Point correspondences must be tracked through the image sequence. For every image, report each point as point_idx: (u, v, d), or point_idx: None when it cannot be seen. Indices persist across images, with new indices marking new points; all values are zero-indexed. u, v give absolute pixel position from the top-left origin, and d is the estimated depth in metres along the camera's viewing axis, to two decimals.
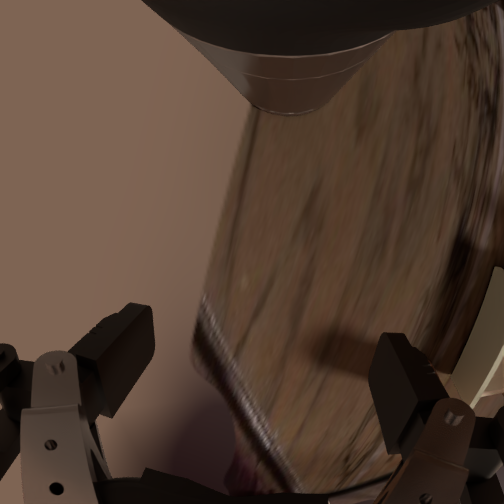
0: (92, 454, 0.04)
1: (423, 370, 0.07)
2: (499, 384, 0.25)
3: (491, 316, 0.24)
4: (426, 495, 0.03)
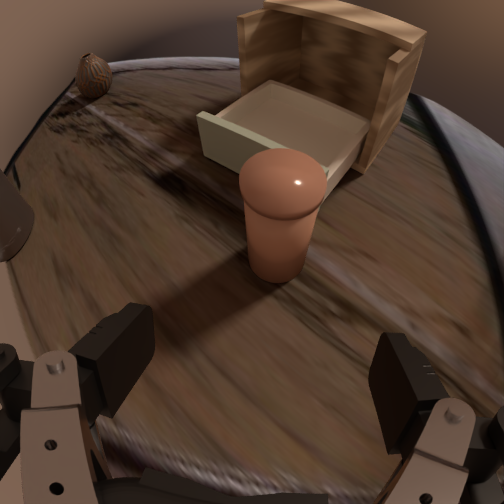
0: (92, 454, 0.04)
1: (423, 370, 0.07)
2: None
3: (232, 156, 0.31)
4: (426, 495, 0.03)
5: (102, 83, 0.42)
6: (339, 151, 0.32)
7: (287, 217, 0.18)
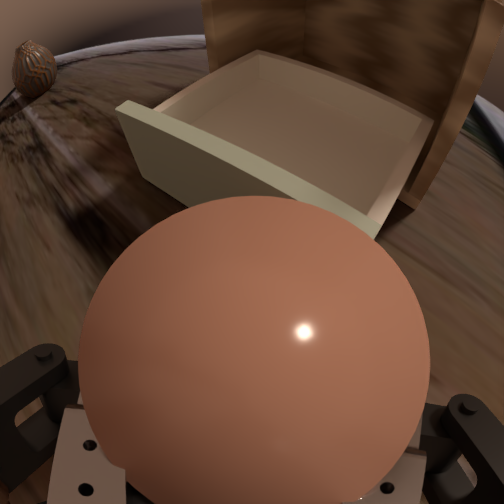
0: None
1: None
2: None
3: (180, 182, 0.16)
4: (386, 484, 0.03)
5: (41, 77, 0.28)
6: (379, 169, 0.17)
7: None
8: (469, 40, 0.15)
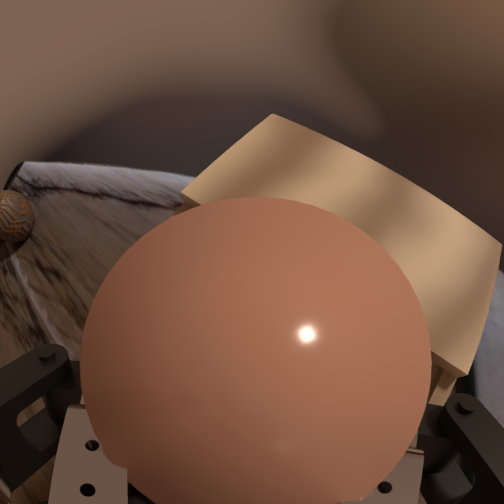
0: None
1: None
2: None
3: None
4: (384, 483, 0.03)
5: (19, 231, 0.32)
6: None
7: None
8: None
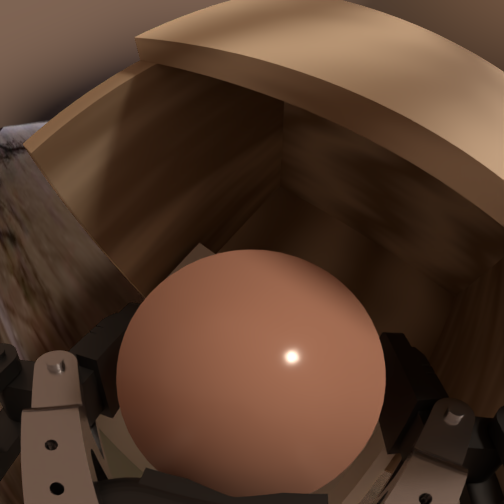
0: (93, 454, 0.04)
1: (422, 370, 0.07)
2: (338, 497, 0.11)
3: None
4: (426, 495, 0.03)
5: None
6: None
7: None
8: None
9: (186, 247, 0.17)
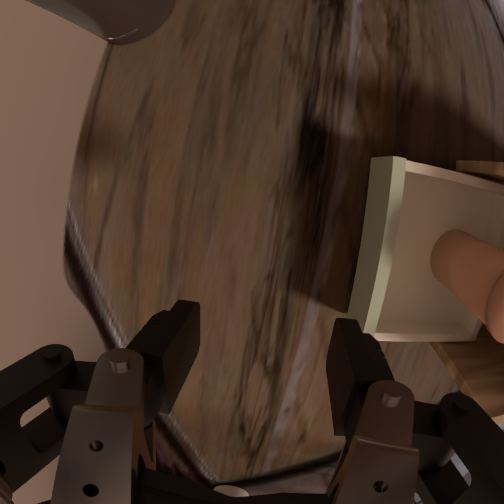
0: (140, 458, 0.04)
1: (368, 353, 0.08)
2: (421, 329, 0.24)
3: (372, 215, 0.23)
4: (379, 482, 0.03)
5: None
6: (431, 313, 0.25)
7: (488, 327, 0.14)
8: None
9: None
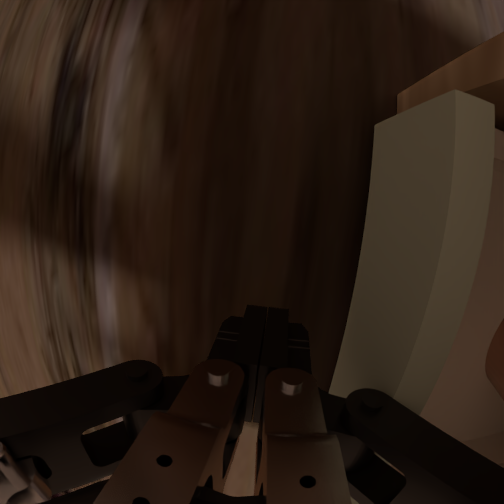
0: (210, 478, 0.04)
1: (285, 341, 0.08)
2: None
3: (376, 271, 0.09)
4: (306, 477, 0.03)
5: None
6: (468, 430, 0.11)
7: None
8: None
9: None
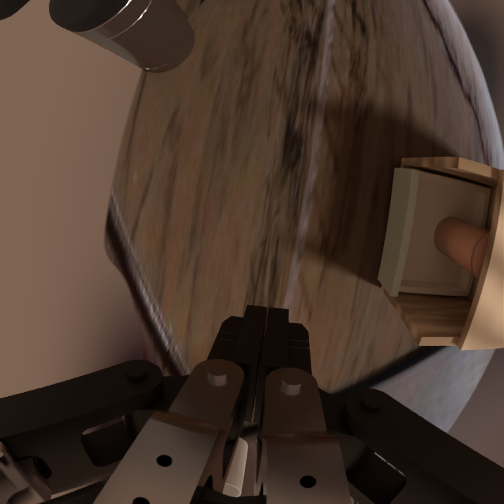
0: (209, 478, 0.04)
1: (285, 341, 0.08)
2: (430, 286, 0.35)
3: (396, 206, 0.34)
4: (306, 477, 0.03)
5: None
6: (436, 275, 0.36)
7: (473, 272, 0.25)
8: None
9: (439, 171, 0.30)
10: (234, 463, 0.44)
